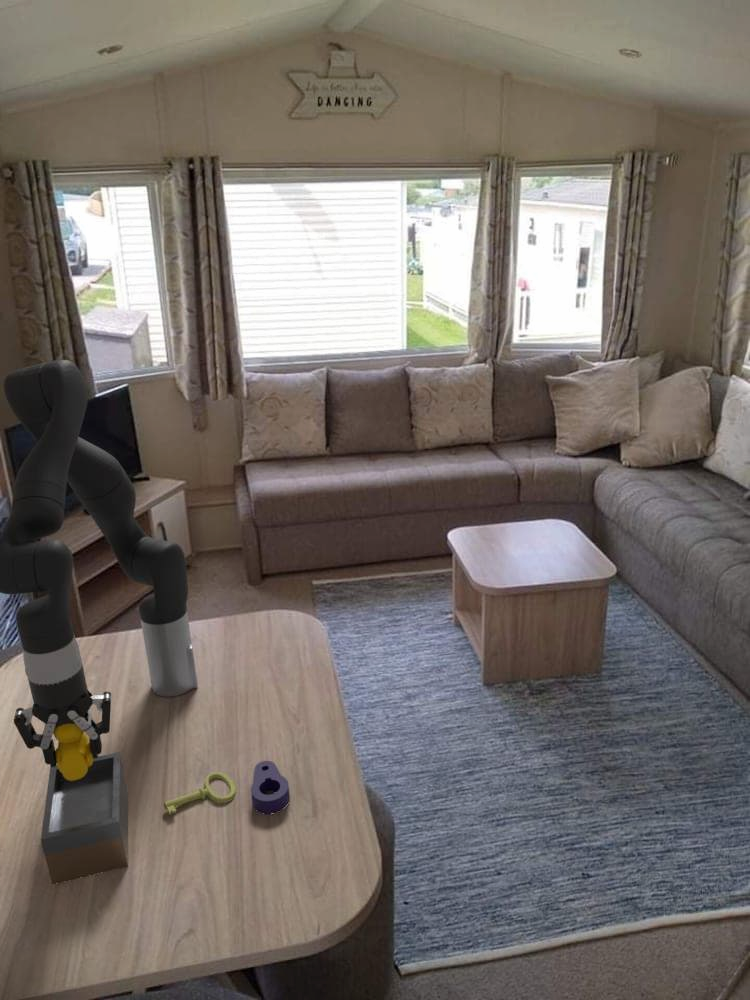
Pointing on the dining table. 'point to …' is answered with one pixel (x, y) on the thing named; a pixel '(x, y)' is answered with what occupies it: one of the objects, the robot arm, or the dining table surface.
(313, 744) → the dining table surface
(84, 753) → the duckling
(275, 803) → the lever
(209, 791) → the key
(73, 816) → the gray rectangular tray
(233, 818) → the dining table surface
